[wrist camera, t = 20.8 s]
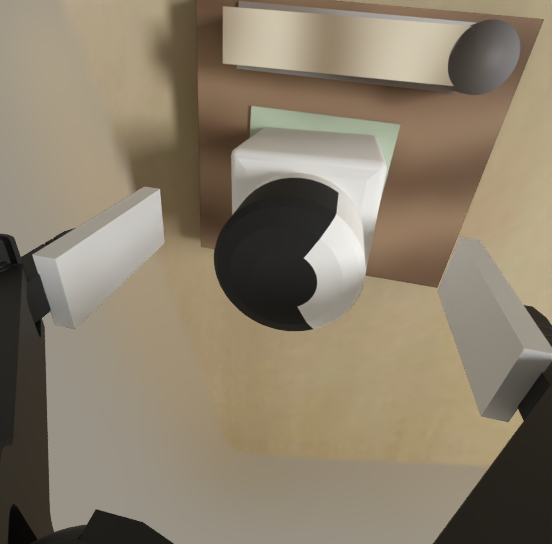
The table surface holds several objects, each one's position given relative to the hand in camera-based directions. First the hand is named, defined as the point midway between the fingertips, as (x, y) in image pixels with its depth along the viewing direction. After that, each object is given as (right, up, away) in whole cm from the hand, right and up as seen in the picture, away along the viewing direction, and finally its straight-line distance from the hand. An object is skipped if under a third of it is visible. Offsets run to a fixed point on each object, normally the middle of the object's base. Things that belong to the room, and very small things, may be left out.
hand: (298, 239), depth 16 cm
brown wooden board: (+3, +7, +9) cm, 11 cm away
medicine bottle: (+1, +4, +8) cm, 9 cm away
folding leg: (+4, +11, +3) cm, 12 cm away
